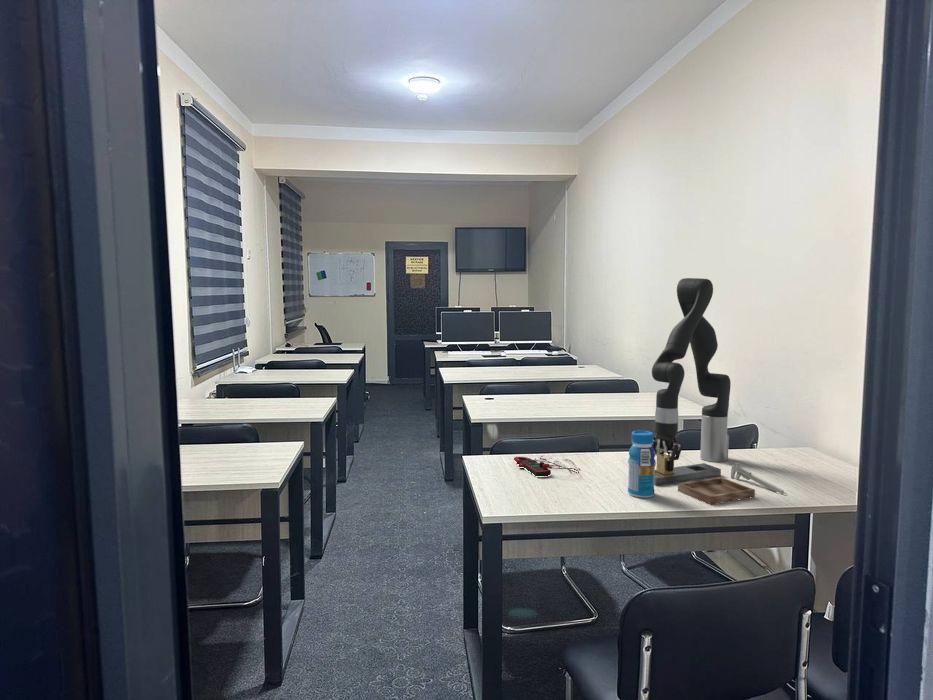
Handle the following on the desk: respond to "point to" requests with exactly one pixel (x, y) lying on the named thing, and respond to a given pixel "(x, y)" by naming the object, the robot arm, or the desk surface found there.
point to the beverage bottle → (641, 465)
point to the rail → (687, 474)
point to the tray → (715, 490)
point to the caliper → (752, 477)
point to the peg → (663, 465)
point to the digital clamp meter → (538, 466)
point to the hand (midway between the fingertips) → (665, 469)
